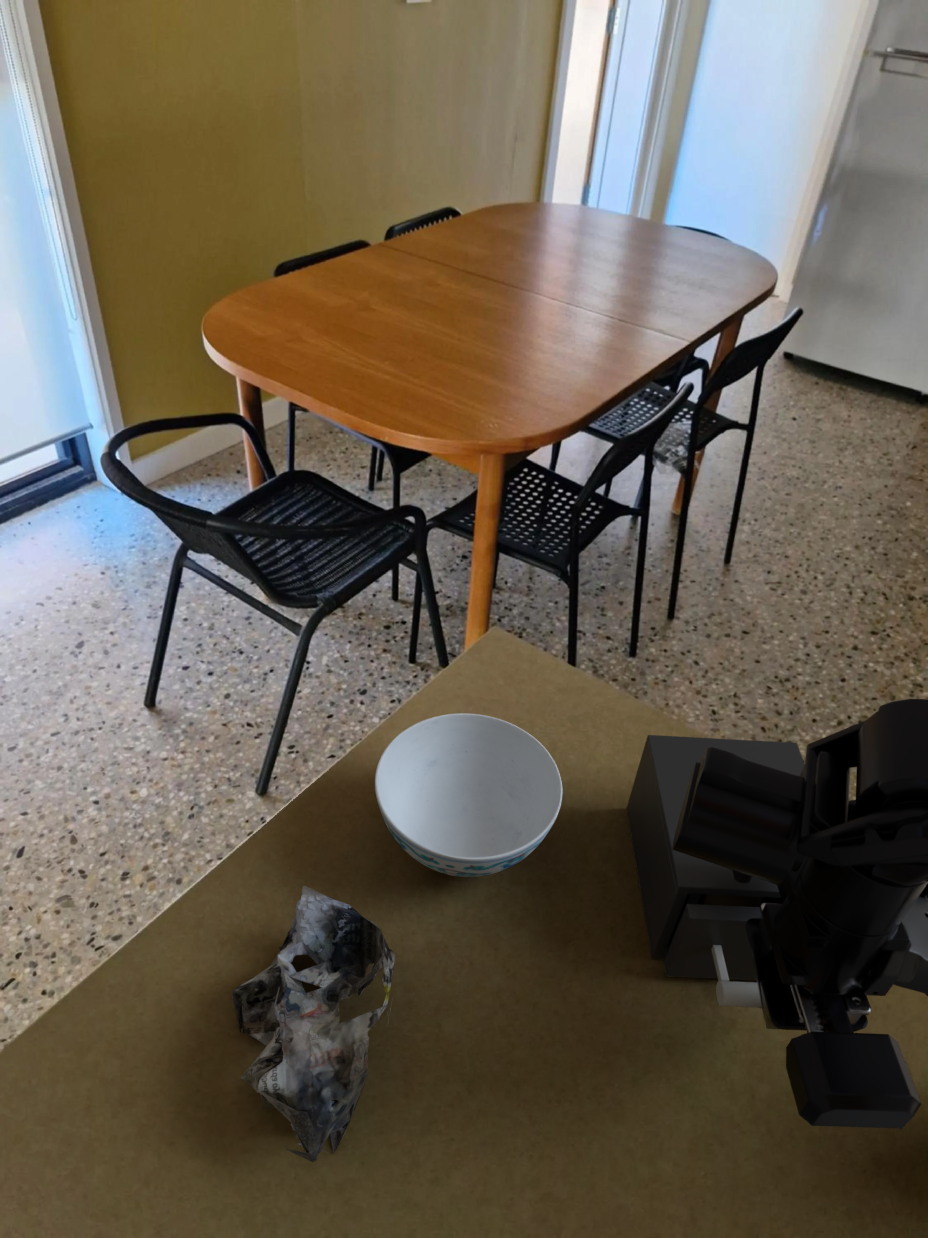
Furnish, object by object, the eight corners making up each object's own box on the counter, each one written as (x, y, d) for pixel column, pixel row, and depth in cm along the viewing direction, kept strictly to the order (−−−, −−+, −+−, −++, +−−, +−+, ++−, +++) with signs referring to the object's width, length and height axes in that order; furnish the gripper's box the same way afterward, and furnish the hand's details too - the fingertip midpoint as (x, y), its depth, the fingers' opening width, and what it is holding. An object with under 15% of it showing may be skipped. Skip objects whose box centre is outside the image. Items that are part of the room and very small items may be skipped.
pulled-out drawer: (833, 1040, 63) (872, 985, 59) (676, 1034, 63) (702, 977, 58) (769, 835, 77) (796, 776, 72) (639, 829, 77) (658, 769, 72)
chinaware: (494, 952, 68) (504, 894, 63) (338, 859, 73) (336, 799, 69) (579, 821, 78) (593, 762, 73) (436, 748, 84) (440, 689, 79)
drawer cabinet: (812, 966, 69) (855, 895, 63) (651, 959, 68) (679, 887, 62) (764, 815, 80) (797, 742, 74) (626, 808, 80) (647, 734, 74)
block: (743, 862, 74) (758, 829, 71) (757, 911, 70) (773, 877, 67) (690, 860, 73) (703, 826, 70) (701, 908, 70) (715, 874, 67)
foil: (455, 947, 64) (360, 1046, 50) (403, 1071, 66) (297, 1200, 52) (324, 869, 68) (201, 941, 54) (278, 988, 70) (148, 1089, 56)
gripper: (1076, 1063, 44) (945, 1182, 53) (924, 772, 58) (843, 907, 68) (854, 1055, 43) (763, 1176, 53) (756, 764, 58) (700, 901, 67)
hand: (772, 1024), depth 60 cm, fingers closed
